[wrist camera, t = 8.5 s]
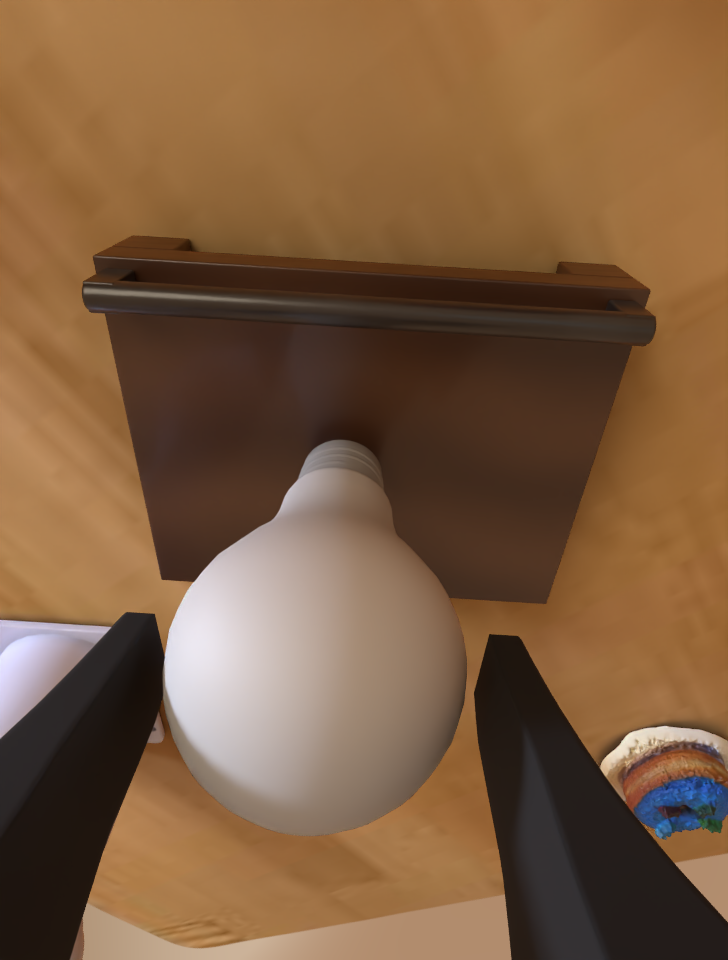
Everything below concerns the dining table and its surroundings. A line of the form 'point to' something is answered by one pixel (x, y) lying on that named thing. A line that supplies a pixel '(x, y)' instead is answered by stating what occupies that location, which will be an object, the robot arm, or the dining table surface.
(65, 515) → the dining table surface
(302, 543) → the lightbulb
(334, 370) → the shelf
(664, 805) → the dessert
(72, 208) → the dining table surface
